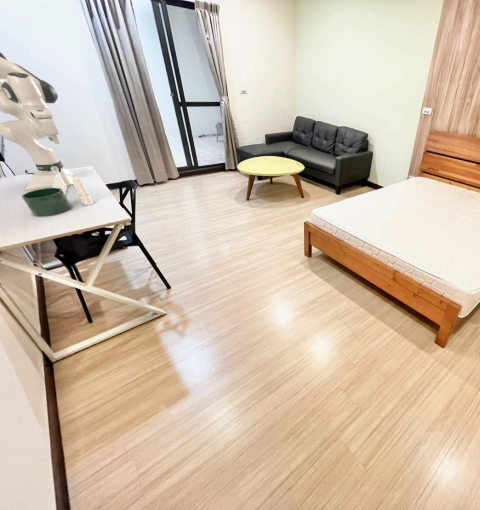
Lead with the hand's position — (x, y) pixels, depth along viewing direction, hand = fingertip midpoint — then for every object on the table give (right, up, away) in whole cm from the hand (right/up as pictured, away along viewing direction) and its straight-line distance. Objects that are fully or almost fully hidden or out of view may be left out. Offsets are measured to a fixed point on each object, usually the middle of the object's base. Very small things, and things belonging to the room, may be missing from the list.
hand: (55, 142), depth 139 cm
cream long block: (-25, -24, +22) cm, 41 cm away
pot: (-9, -34, +7) cm, 36 cm away
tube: (+3, -29, +16) cm, 33 cm away
